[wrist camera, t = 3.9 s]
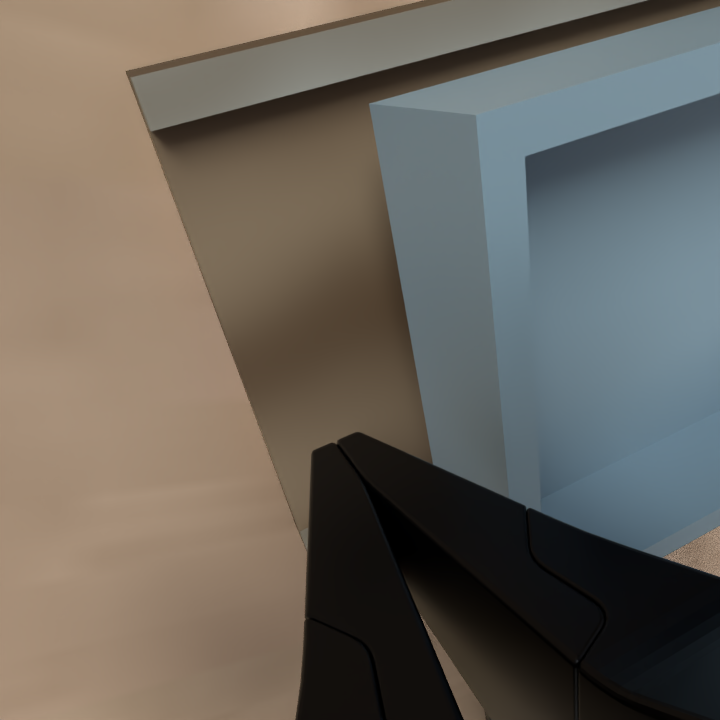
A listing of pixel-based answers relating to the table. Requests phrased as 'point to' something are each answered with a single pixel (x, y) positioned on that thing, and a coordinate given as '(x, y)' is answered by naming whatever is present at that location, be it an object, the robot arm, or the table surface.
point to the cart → (570, 277)
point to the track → (329, 200)
